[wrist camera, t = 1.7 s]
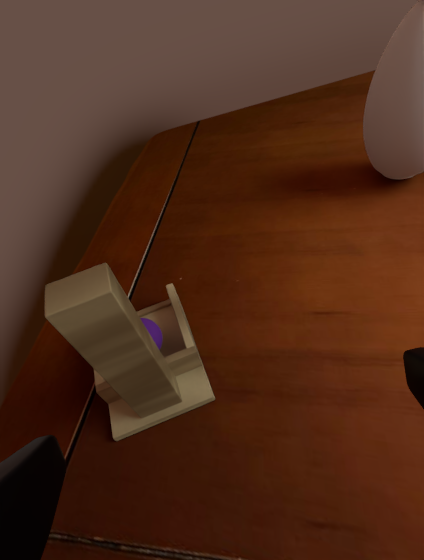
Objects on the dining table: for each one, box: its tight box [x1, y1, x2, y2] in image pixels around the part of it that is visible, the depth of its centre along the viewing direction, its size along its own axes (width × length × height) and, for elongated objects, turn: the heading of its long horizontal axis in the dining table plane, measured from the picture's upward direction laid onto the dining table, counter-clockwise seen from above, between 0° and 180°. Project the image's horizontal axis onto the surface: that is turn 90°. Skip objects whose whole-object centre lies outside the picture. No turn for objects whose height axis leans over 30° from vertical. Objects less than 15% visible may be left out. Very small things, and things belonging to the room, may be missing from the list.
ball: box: [140, 318, 163, 350], centre depth 26 cm, size 3×3×3 cm
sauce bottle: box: [363, 0, 424, 179], centre depth 29 cm, size 8×8×18 cm
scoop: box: [45, 263, 215, 441], centre depth 22 cm, size 10×7×13 cm
